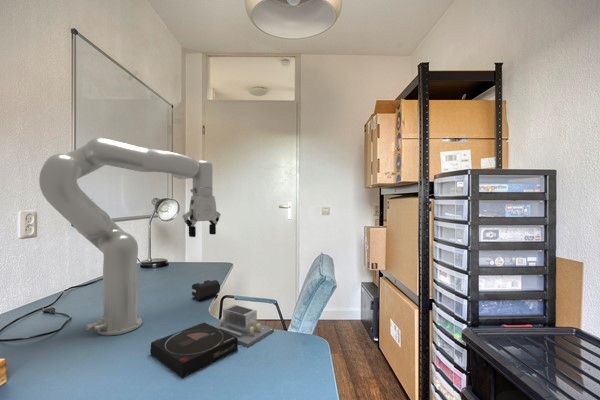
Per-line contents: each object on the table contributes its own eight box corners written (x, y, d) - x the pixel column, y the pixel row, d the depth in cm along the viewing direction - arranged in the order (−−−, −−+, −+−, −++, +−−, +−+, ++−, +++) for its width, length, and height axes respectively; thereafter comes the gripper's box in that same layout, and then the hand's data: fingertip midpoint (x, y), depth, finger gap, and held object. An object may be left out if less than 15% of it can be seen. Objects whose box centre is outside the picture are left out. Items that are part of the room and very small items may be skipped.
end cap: (201, 302, 120) (201, 286, 120) (190, 299, 124) (190, 283, 124) (220, 296, 128) (220, 280, 128) (210, 293, 132) (210, 278, 132)
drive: (245, 335, 88) (245, 315, 88) (223, 327, 94) (223, 308, 94) (256, 329, 93) (256, 310, 93) (234, 322, 98) (234, 304, 98)
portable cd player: (203, 334, 93) (203, 321, 93) (237, 351, 82) (237, 337, 82) (150, 356, 80) (150, 341, 80) (182, 380, 69) (182, 363, 69)
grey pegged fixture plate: (247, 347, 83) (247, 335, 83) (206, 332, 93) (206, 321, 93) (273, 331, 93) (273, 320, 93) (233, 319, 103) (233, 309, 103)
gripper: (189, 191, 106) (189, 238, 106) (225, 192, 120) (225, 233, 120) (177, 192, 110) (177, 237, 110) (213, 192, 124) (213, 232, 124)
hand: (202, 235), depth 115 cm, fingers open, 9 cm apart
